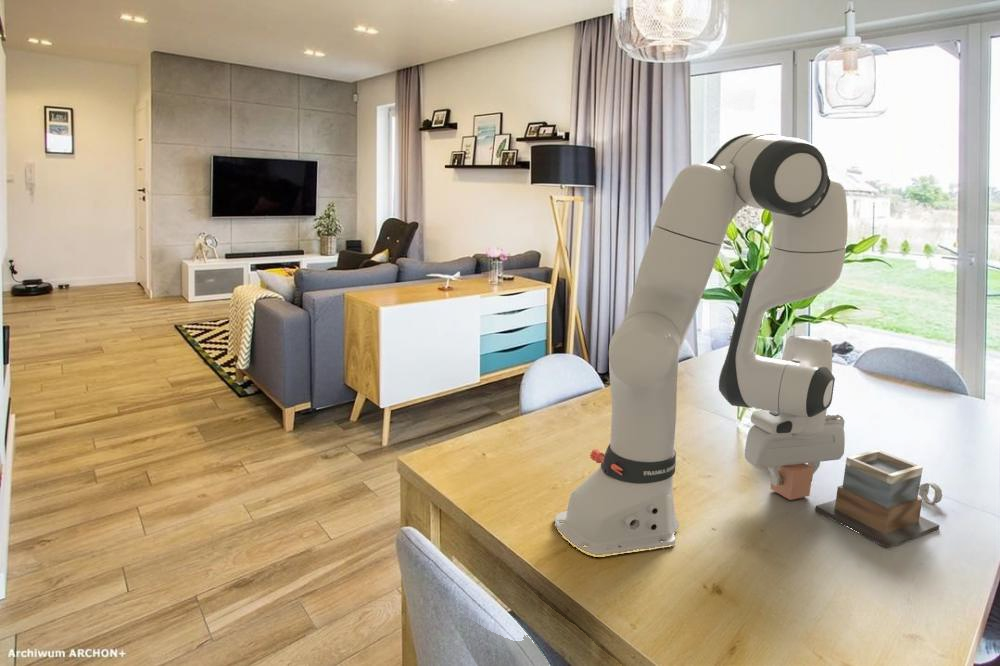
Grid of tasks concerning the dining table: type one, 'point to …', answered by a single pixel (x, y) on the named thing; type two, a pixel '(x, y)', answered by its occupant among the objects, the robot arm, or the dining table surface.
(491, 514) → the dining table surface
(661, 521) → the robot arm
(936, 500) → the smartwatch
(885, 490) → the stacked open-top box
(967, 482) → the dining table surface
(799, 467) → the light orange block
